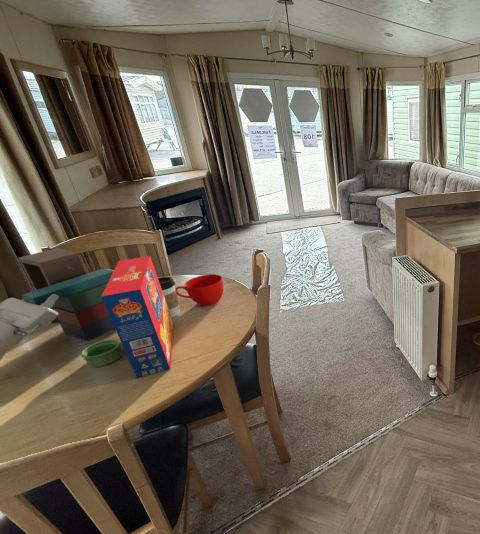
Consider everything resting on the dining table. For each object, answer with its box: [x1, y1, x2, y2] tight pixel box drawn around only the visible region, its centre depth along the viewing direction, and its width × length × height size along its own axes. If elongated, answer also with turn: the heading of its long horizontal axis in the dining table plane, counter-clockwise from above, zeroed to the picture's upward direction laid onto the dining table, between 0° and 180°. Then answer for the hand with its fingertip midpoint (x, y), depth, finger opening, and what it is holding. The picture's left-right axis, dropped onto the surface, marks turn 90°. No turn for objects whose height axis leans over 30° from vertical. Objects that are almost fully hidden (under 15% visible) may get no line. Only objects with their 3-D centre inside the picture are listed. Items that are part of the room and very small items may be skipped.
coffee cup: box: [158, 276, 181, 319], centre depth 129 cm, size 8×8×15 cm
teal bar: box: [20, 267, 115, 305], centre depth 114 cm, size 6×22×3 cm, turn 162°
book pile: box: [53, 281, 116, 342], centre depth 121 cm, size 12×16×16 cm
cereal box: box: [101, 255, 175, 379], centre depth 107 cm, size 28×8×28 cm, turn 33°
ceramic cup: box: [175, 273, 225, 307], centre depth 139 cm, size 13×17×10 cm
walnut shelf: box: [17, 248, 87, 324], centre depth 123 cm, size 12×10×26 cm
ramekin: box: [80, 339, 123, 368], centre depth 107 cm, size 9×9×4 cm
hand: (48, 292), depth 109 cm, fingers closed on teal bar, 6 cm apart
